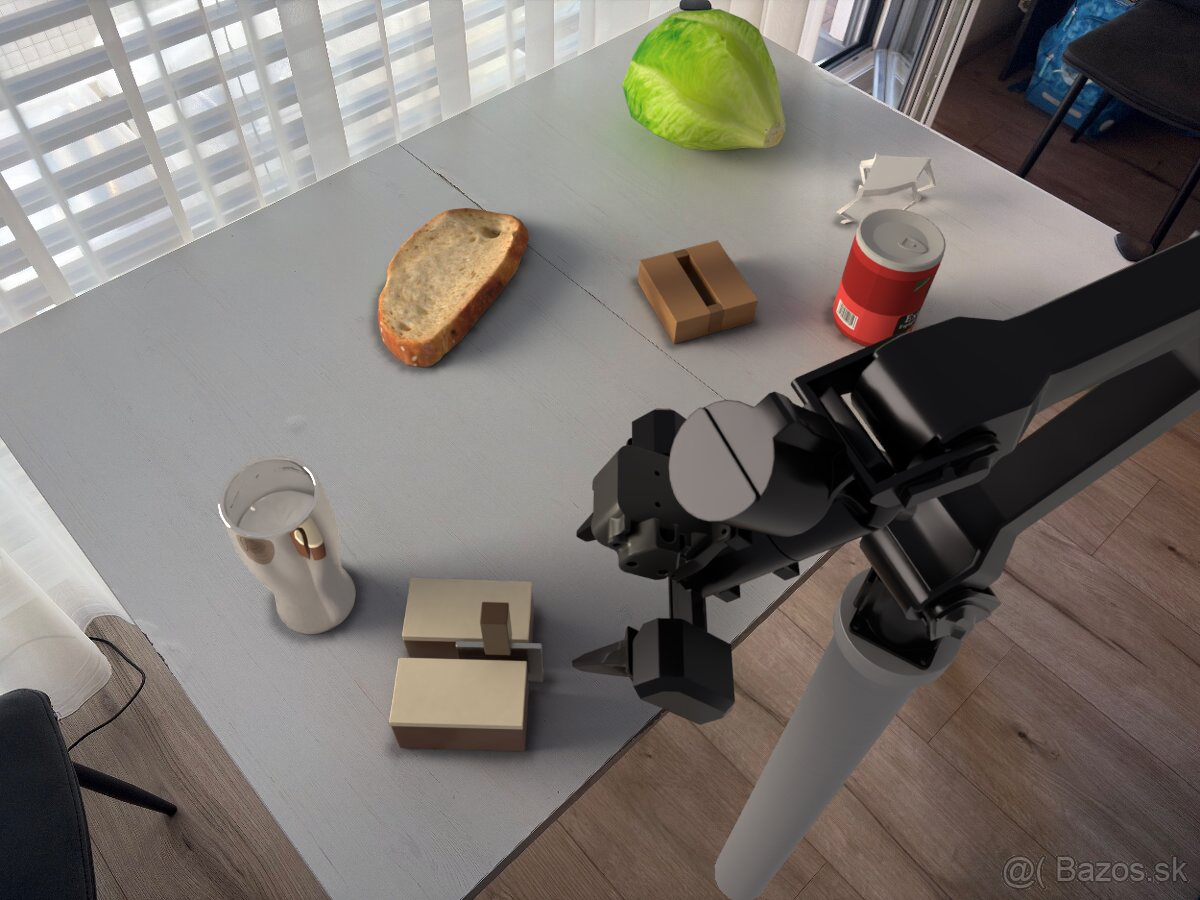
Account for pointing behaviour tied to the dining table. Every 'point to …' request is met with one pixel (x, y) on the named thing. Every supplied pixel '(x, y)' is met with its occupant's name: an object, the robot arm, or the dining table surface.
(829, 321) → the dining table surface
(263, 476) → the beer glass
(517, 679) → the beige twin blocks
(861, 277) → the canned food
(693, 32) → the lettuce
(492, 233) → the slice of bread
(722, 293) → the cardboard box
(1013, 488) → the robot arm
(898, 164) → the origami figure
